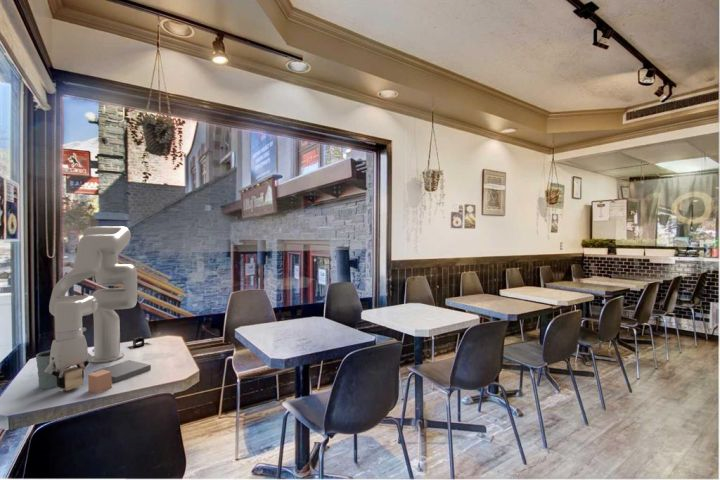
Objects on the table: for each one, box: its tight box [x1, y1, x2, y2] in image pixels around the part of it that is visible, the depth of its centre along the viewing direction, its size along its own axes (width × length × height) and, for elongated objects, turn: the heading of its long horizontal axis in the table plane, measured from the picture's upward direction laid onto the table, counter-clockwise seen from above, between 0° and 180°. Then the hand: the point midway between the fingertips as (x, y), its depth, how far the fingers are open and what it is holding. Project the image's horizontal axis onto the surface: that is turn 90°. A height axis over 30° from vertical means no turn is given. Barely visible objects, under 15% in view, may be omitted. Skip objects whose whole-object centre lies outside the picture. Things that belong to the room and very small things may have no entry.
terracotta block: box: [87, 369, 113, 394], centre depth 128 cm, size 5×5×6 cm
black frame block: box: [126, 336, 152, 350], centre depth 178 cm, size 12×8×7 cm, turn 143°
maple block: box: [58, 366, 84, 391], centre depth 128 cm, size 5×5×6 cm
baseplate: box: [93, 359, 152, 383], centre depth 143 cm, size 14×14×2 cm
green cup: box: [35, 349, 71, 390], centre depth 133 cm, size 10×10×12 cm
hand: (70, 383), depth 128 cm, fingers closed on maple block, 4 cm apart
